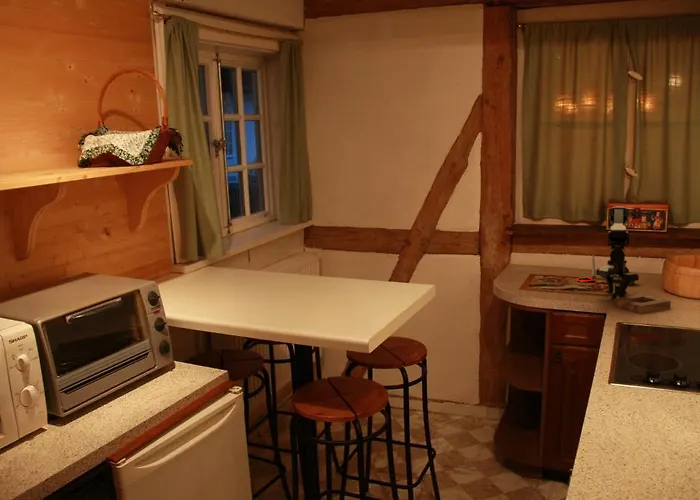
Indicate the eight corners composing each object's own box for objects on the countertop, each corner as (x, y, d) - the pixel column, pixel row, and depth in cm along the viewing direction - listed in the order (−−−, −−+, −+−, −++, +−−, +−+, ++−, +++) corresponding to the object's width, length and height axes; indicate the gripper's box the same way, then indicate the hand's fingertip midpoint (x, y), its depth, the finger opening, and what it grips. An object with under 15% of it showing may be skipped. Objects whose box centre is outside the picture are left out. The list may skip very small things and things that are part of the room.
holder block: (613, 305, 276) (614, 298, 275) (643, 300, 282) (643, 293, 281) (640, 313, 263) (640, 306, 263) (670, 308, 269) (670, 300, 269)
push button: (608, 300, 284) (608, 277, 282) (607, 298, 289) (607, 275, 287) (625, 301, 282) (625, 277, 280) (623, 298, 287) (623, 275, 285)
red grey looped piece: (576, 283, 320) (596, 283, 317) (575, 257, 318) (595, 256, 316) (575, 279, 328) (595, 279, 325) (574, 254, 326) (594, 253, 323)
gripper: (586, 257, 288) (586, 292, 290) (619, 263, 270) (618, 300, 273) (606, 254, 292) (606, 289, 294) (640, 260, 275) (639, 297, 277)
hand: (616, 293), depth 285 cm, fingers closed on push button, 5 cm apart
